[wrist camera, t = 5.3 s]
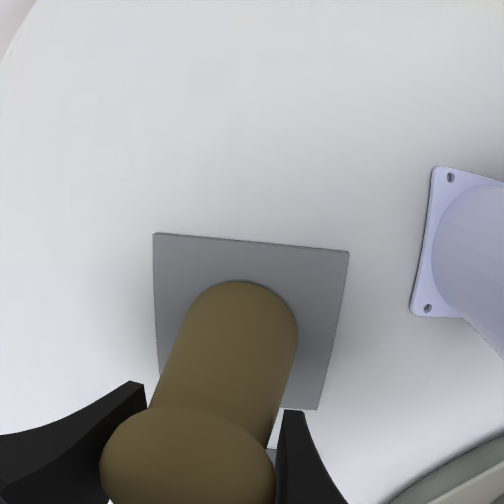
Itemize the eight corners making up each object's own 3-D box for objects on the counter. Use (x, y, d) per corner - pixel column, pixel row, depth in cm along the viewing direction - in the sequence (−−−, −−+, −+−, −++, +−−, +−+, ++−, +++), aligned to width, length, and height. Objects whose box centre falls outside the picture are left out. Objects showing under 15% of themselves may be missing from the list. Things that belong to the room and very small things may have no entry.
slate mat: (347, 251, 15) (349, 253, 15) (316, 405, 18) (316, 410, 17) (156, 232, 16) (152, 234, 16) (163, 382, 19) (161, 387, 18)
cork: (287, 388, 16) (266, 570, 6) (184, 368, 17) (97, 523, 6) (308, 292, 15) (316, 507, 4) (186, 272, 15) (37, 424, 5)
